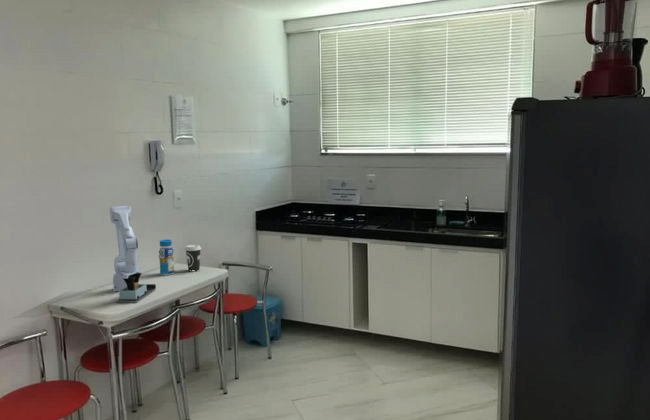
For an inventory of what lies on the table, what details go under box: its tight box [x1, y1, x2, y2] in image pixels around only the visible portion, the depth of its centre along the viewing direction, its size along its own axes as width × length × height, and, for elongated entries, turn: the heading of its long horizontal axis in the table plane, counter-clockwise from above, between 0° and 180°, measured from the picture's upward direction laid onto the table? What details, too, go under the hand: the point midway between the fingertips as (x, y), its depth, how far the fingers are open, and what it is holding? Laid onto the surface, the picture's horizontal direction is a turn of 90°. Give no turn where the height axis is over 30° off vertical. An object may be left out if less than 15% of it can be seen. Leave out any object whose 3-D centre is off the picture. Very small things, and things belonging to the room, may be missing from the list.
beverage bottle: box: [158, 239, 175, 276], centre depth 302 cm, size 8×8×20 cm
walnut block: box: [127, 282, 139, 291], centre depth 255 cm, size 4×4×4 cm
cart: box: [118, 283, 147, 299], centre depth 255 cm, size 10×12×4 cm
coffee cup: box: [184, 244, 202, 272], centre depth 310 cm, size 10×10×15 cm
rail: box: [116, 283, 157, 304], centre depth 259 cm, size 10×22×3 cm, turn 175°
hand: (133, 289), depth 255 cm, fingers closed on walnut block, 4 cm apart
